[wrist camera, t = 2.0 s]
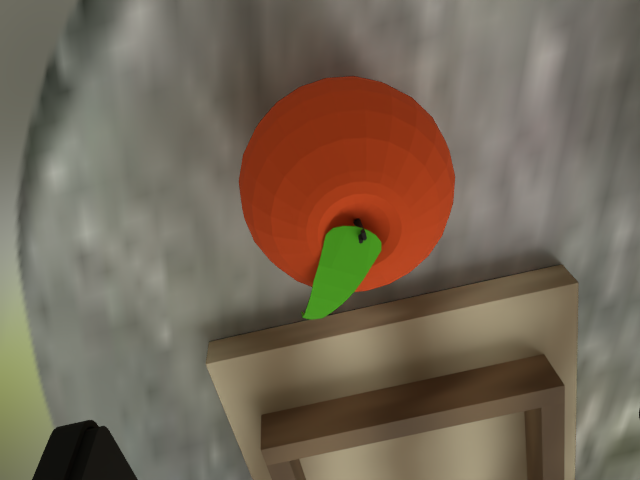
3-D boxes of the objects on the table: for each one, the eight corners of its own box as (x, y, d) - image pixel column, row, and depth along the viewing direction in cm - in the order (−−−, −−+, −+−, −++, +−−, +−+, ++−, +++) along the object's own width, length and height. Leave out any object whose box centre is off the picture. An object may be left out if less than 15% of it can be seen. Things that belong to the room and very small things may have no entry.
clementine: (373, 270, 24) (409, 387, 18) (215, 227, 22) (194, 338, 16) (455, 93, 21) (536, 161, 14) (275, 27, 19) (278, 71, 13)
